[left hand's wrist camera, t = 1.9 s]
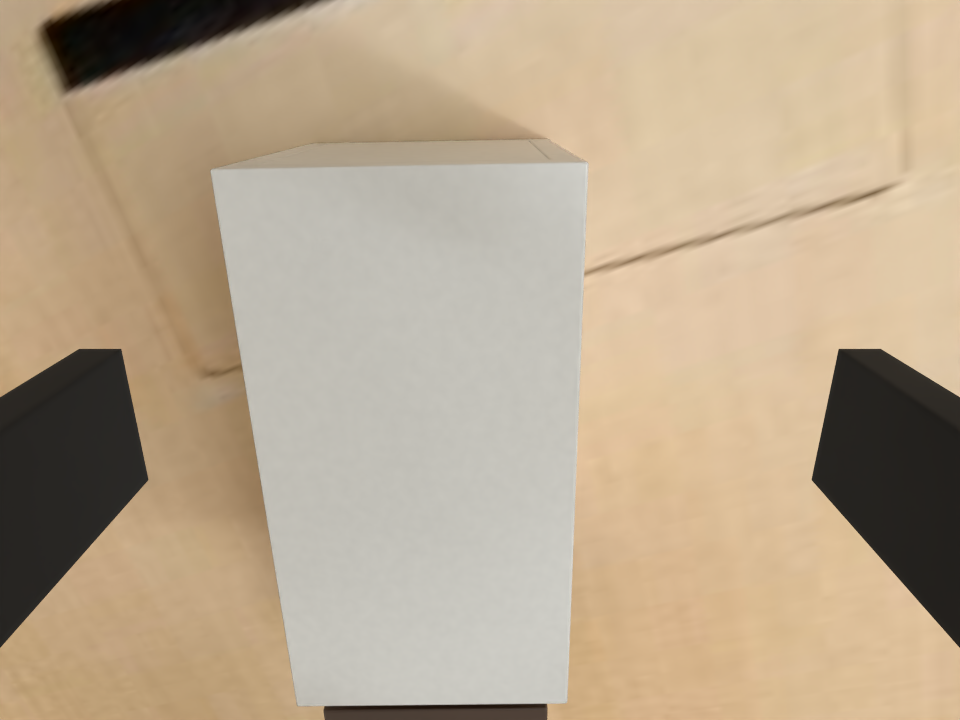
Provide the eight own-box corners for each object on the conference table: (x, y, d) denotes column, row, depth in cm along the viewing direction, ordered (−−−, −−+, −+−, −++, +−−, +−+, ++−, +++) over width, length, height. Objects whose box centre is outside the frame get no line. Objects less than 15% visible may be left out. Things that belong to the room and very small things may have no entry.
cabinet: (542, 525, 34) (567, 704, 24) (351, 527, 34) (296, 707, 24) (549, 138, 27) (588, 161, 17) (310, 143, 27) (208, 169, 17)
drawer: (530, 658, 36) (544, 825, 28) (372, 660, 36) (339, 827, 28) (535, 233, 27) (558, 291, 19) (329, 237, 28) (263, 296, 19)
